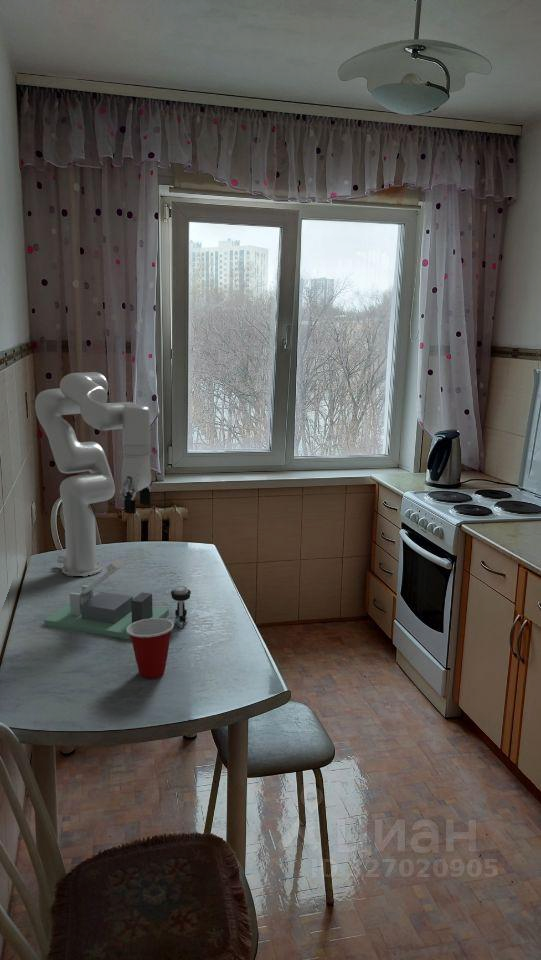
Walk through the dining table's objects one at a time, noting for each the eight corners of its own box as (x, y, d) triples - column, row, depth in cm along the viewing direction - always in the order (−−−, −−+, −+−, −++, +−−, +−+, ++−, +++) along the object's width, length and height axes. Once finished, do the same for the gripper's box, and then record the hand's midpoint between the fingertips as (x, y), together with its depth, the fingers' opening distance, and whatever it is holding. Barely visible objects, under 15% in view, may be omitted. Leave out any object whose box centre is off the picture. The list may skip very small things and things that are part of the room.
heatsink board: (44, 624, 188) (42, 596, 186) (81, 600, 205) (80, 574, 203) (137, 640, 180) (137, 611, 178) (169, 614, 197) (168, 587, 195)
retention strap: (77, 600, 192) (72, 594, 192) (86, 595, 196) (81, 588, 196) (117, 569, 185) (112, 562, 186) (125, 564, 190) (120, 557, 190)
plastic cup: (153, 657, 171) (152, 611, 168) (184, 671, 164) (183, 624, 162) (117, 674, 163) (116, 625, 160) (148, 689, 156) (147, 639, 153)
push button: (190, 629, 187) (190, 593, 185) (170, 629, 187) (170, 594, 184) (190, 619, 194) (190, 584, 191) (171, 619, 193) (171, 585, 191)
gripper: (138, 444, 206) (139, 500, 210) (109, 454, 190) (111, 515, 194) (161, 445, 204) (162, 502, 208) (135, 456, 188) (136, 518, 192)
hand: (137, 508), depth 201 cm, fingers open, 9 cm apart
